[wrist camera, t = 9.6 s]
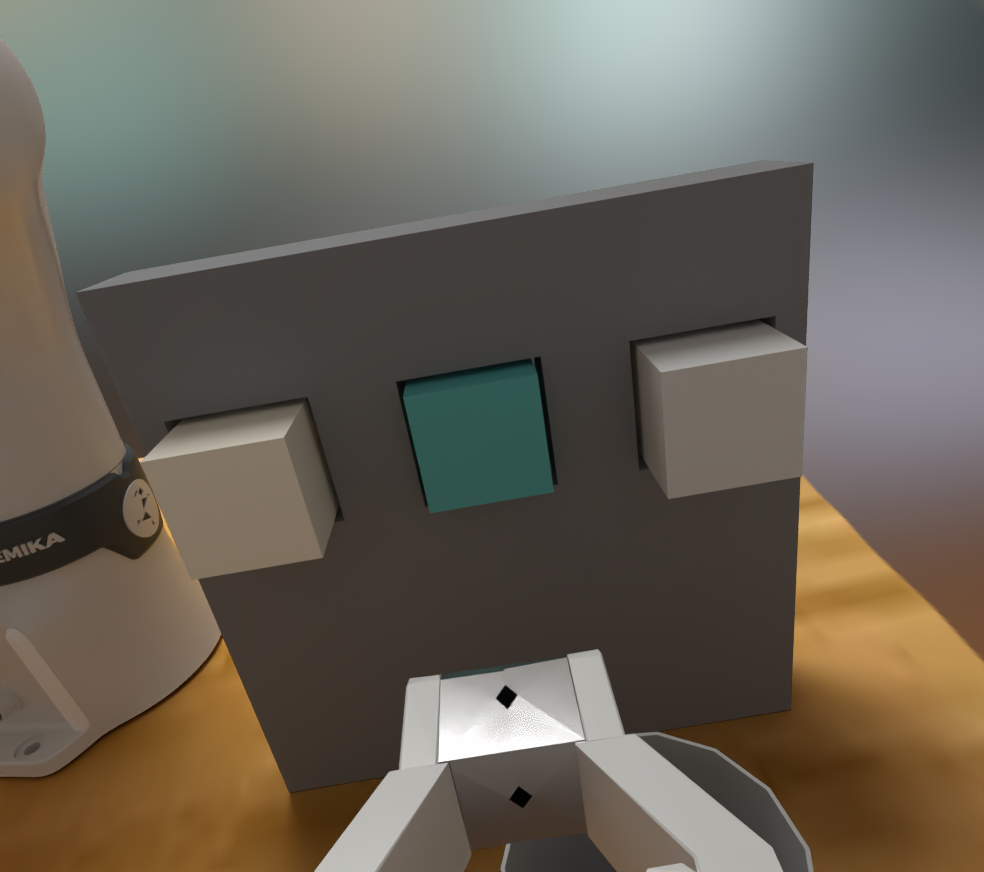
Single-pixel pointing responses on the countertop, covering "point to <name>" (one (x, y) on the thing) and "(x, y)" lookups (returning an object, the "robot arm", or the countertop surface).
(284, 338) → the button panel
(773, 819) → the cup
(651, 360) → the light grey push-block
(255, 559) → the cream push-block
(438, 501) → the teal push-block
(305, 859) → the countertop surface
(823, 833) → the countertop surface
